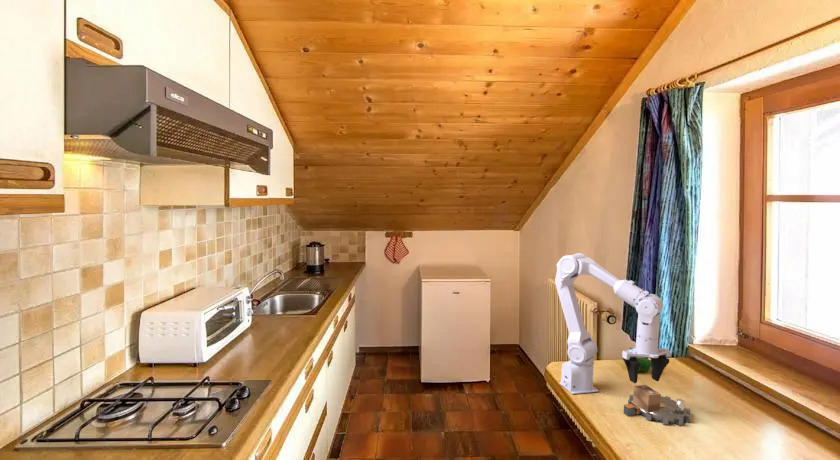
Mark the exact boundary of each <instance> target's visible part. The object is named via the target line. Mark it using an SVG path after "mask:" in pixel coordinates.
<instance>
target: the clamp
mask: <svg viewBox="0 0 840 460" xmlns="http://www.w3.org/2000/svg"><path fill="white" fill-rule="evenodd" d="M630 349H633V347H629V349H628V350H630ZM636 360H637V361H638V362H640V363H641V365H640V368H639V371H638V373H639V372H640V371H642V372H645V373H649V372H650V369H651V368H652V364H651V359H649V357H645V358H636Z"/></svg>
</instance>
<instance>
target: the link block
mask: <svg viewBox="0 0 840 460" xmlns="http://www.w3.org/2000/svg"><path fill="white" fill-rule="evenodd" d="M632 392H633V394H632V395H633V402H634V403H635V404H636V405H638V406H639V407H641V408H642V409H644V410H645V411H647V412H654V411H660V400H661V396H662V394H661V393H660V392H658V391H657V390H655V389H653V388H651V387H650V386H648V385H647V384H641V385H640V384H639V385H633V391H632Z"/></svg>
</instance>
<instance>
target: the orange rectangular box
mask: <svg viewBox="0 0 840 460" xmlns="http://www.w3.org/2000/svg"><path fill="white" fill-rule="evenodd" d="M635 408H636V407H635V406H634V405H632V404H628V403H626V404H623V414H624V415H625V416H627V417H633V416H634V417H635V416H636V413H635Z"/></svg>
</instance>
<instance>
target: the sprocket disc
mask: <svg viewBox="0 0 840 460" xmlns="http://www.w3.org/2000/svg"><path fill="white" fill-rule="evenodd" d="M628 398H629V399H628V401H627V404H632V405H634V406H635V407H636V408H635V415H642V416H643V417H645V419H646V420H648V421H652V420H653V421H657V422H661V423H662V425H667V426H668V425H669V424H676V425H677V426H682V425H684V422H688V423H690V422H691V421H692V420H691V419H692V410H691V409H690V408H688V407H685V405H686V402H685V400H684V399H681V398H676V400H674V399H672V398H671V397H670V396H667V395H665V396H663V395H661V400H660V411H654V412H647V411H645V410H644V409H642V408H641V407H639V406H638V405H636V404H635V403H634V402H633V394H630V395H629V396H628Z"/></svg>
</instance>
